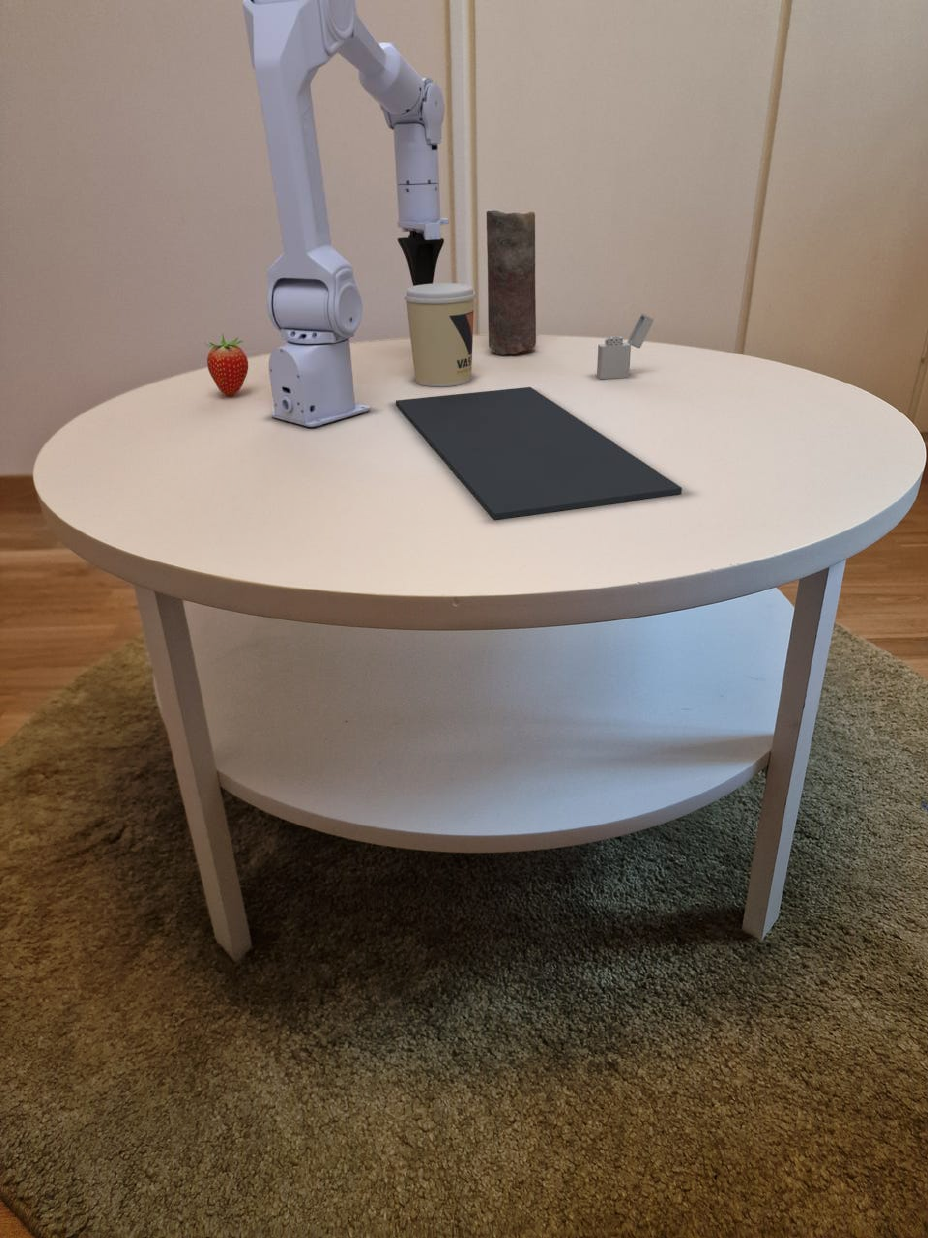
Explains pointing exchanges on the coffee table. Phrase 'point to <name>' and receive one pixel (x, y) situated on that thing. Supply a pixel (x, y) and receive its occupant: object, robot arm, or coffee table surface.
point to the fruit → (227, 366)
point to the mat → (529, 453)
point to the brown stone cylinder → (511, 282)
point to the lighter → (621, 351)
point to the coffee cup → (441, 332)
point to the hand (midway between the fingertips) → (423, 290)
